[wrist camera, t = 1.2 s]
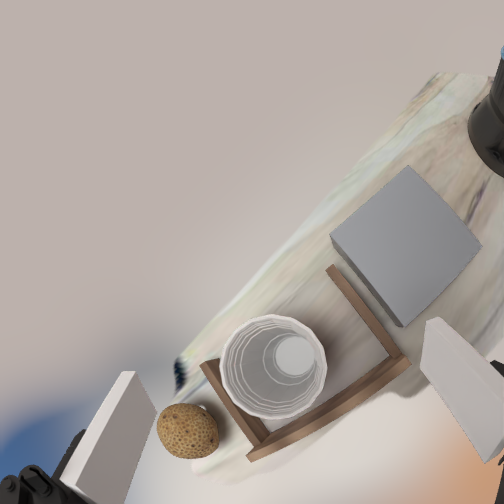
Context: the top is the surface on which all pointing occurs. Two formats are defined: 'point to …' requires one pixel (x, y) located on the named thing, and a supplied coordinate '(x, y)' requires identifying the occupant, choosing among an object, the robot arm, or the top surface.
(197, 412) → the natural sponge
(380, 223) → the grey square block
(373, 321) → the brown wooden frame
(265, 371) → the plastic cup
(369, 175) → the top surface
